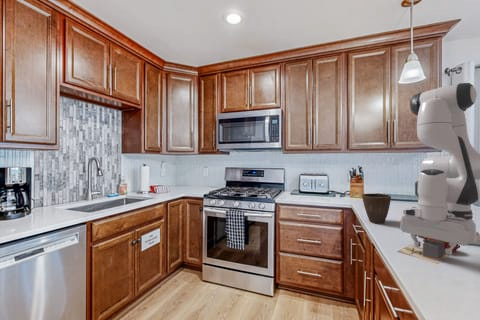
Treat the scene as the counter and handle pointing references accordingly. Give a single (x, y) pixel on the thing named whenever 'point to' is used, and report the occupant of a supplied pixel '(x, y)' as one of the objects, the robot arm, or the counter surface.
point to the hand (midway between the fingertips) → (432, 250)
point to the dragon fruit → (446, 244)
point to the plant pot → (376, 207)
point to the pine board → (418, 253)
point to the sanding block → (433, 250)
